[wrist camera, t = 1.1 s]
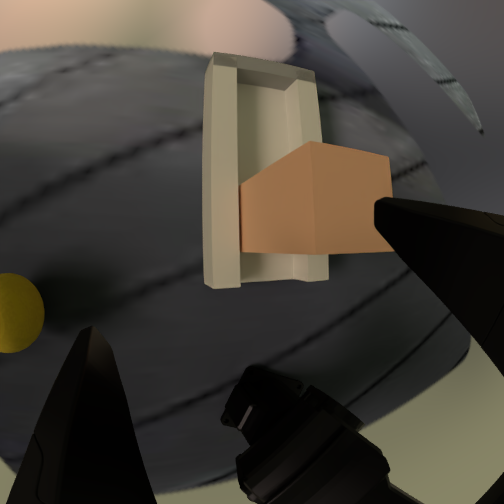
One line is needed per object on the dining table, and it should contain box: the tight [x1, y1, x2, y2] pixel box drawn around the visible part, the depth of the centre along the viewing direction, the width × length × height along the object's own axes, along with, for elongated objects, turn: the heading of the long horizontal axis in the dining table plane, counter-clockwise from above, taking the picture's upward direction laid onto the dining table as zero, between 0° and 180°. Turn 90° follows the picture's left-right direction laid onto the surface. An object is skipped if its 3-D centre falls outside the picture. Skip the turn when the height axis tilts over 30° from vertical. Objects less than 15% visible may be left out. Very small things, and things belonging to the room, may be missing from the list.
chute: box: [202, 52, 329, 289], centre depth 24 cm, size 19×10×4 cm, turn 1°
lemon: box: [0, 273, 44, 353], centre depth 15 cm, size 6×6×8 cm
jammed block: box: [238, 141, 394, 255], centre depth 19 cm, size 5×5×12 cm
